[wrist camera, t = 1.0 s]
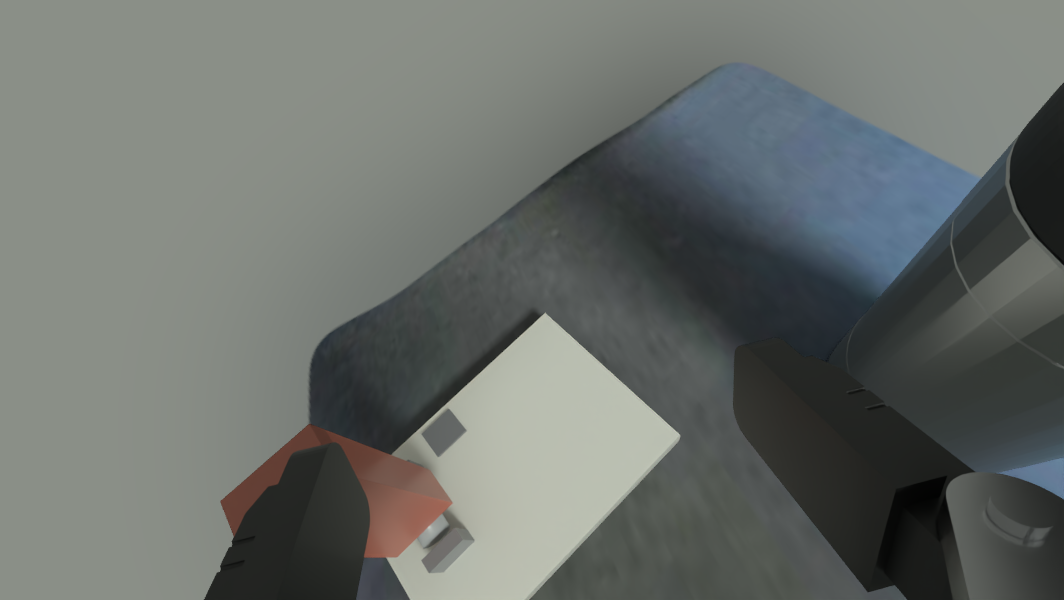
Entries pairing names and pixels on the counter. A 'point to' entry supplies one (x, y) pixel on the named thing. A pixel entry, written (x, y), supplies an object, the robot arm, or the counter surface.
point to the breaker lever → (390, 486)
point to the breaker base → (527, 468)
